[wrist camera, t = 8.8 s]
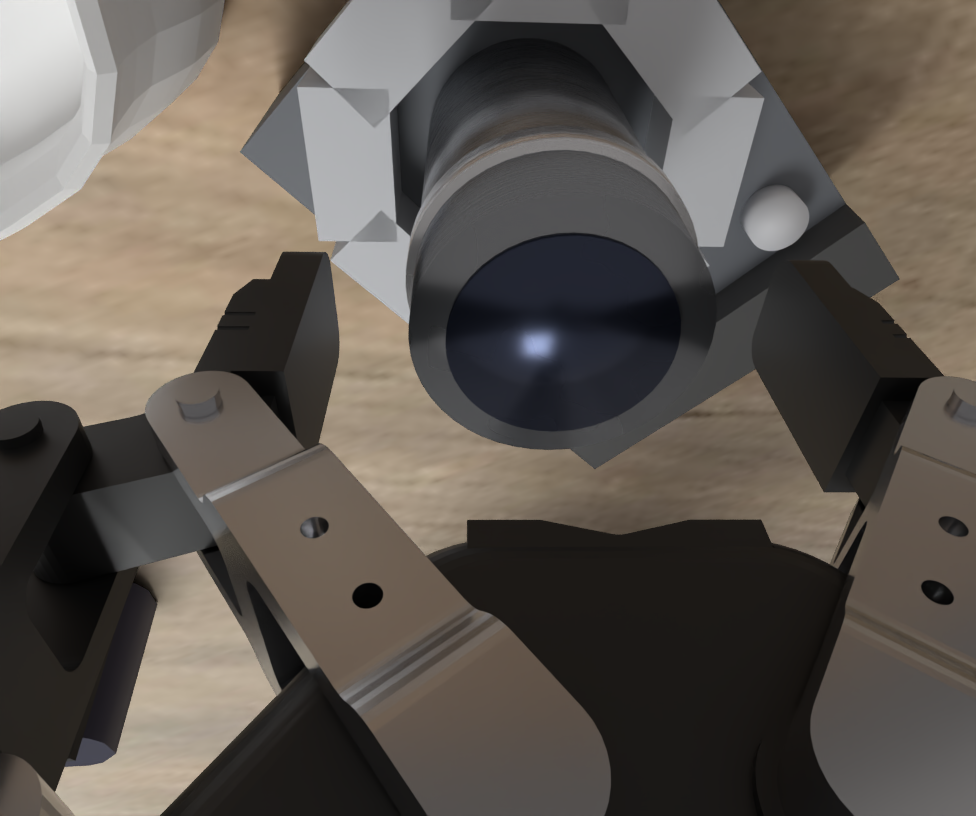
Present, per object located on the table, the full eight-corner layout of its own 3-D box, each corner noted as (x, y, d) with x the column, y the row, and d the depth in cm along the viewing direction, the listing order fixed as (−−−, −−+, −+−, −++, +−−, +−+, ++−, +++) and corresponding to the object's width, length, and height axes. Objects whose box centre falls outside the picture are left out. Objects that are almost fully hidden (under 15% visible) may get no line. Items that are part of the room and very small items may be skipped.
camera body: (815, 190, 24) (913, 293, 19) (573, 364, 29) (598, 485, 24) (536, -239, 17) (569, -266, 12) (272, 87, 22) (210, 174, 16)
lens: (664, 146, 18) (789, 347, 11) (515, 269, 21) (543, 500, 14) (534, -24, 16) (593, 103, 9) (380, 140, 18) (329, 342, 11)
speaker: (20, 542, 35) (-81, 759, 28) (139, 543, 36) (70, 755, 29) (67, 612, 41) (-8, 808, 34) (169, 612, 42) (117, 804, 34)
